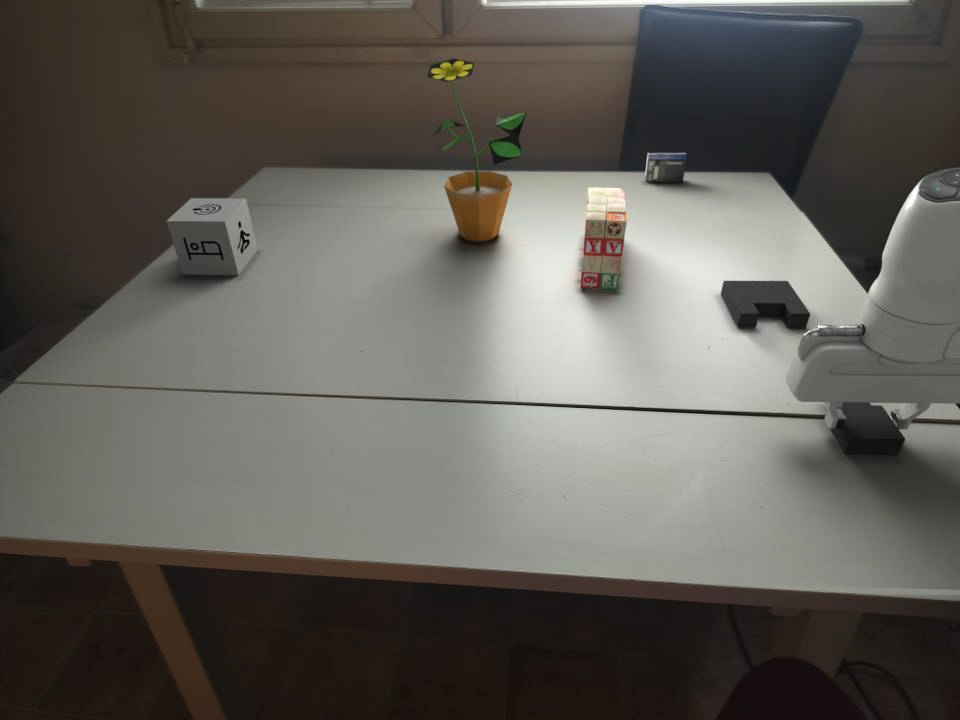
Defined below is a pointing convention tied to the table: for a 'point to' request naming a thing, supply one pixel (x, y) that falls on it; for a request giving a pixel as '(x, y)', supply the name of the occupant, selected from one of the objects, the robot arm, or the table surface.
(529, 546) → the table surface
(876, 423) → the black tabbed insert block
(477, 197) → the potted plant
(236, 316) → the table surface
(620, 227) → the stack of blocks
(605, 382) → the table surface
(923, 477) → the table surface
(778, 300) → the base
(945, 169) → the robot arm
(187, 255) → the icon cube
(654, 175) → the mini dv tape
